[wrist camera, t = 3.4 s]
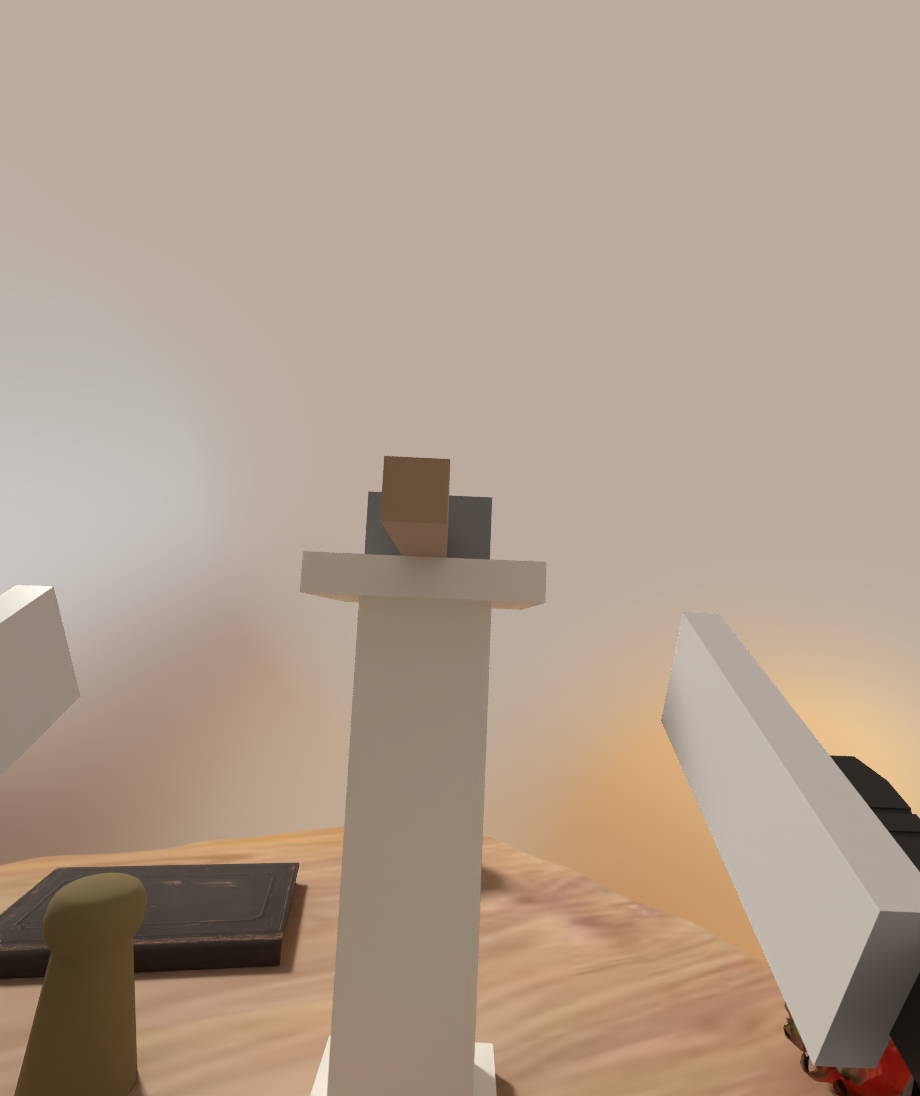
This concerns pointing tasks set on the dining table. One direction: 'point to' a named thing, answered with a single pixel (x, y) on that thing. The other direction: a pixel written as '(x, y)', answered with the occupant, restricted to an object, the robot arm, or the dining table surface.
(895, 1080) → the dragon fruit
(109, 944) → the cork
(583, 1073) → the dining table surface
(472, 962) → the stand
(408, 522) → the brown and grey bar
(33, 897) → the hardcover book
